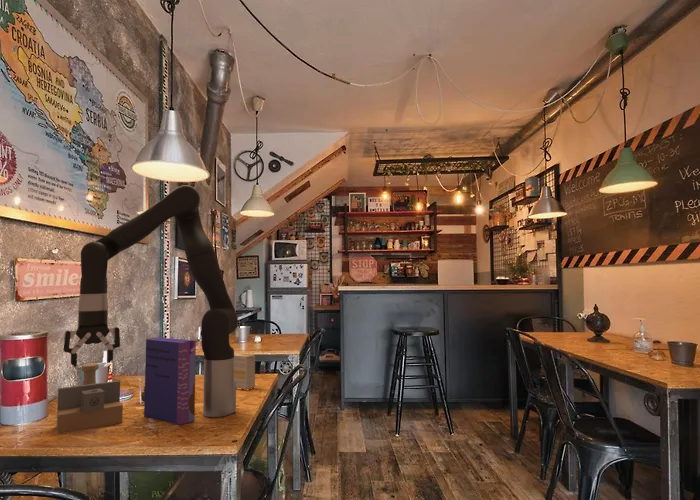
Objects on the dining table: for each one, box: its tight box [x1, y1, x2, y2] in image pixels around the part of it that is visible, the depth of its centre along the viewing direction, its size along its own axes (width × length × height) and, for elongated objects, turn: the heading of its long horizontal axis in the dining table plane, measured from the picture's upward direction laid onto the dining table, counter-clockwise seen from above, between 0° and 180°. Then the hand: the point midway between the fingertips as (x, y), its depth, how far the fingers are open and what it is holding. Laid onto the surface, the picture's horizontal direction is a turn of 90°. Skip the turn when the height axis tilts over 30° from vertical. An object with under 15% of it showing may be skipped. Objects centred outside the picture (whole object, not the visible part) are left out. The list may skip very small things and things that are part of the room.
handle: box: [80, 362, 100, 385], centre depth 140 cm, size 5×6×15 cm
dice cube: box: [80, 388, 104, 412], centre depth 125 cm, size 5×5×5 cm
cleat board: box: [56, 380, 124, 435], centre depth 127 cm, size 16×7×11 cm, turn 126°
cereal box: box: [143, 337, 197, 426], centre depth 132 cm, size 17×5×24 cm, turn 59°
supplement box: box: [234, 353, 256, 391], centre depth 169 cm, size 8×5×13 cm, turn 58°
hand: (92, 364), depth 127 cm, fingers open, 8 cm apart
